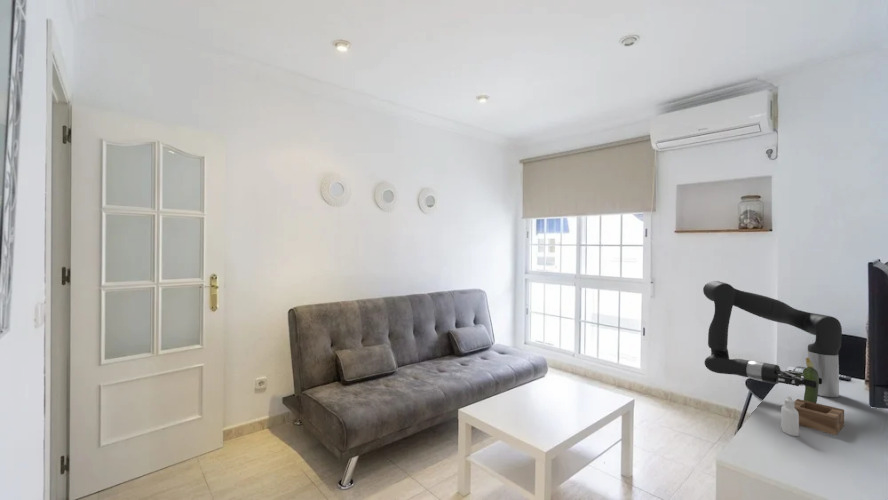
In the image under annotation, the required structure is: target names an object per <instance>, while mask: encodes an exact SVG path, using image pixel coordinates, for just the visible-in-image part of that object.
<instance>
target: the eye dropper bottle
mask: <svg viewBox="0 0 888 500" xmlns="http://www.w3.org/2000/svg"><path fill="white" fill-rule="evenodd" d="M794 401H795V400H793V398H792V396H791V395H788V396H787V398H785V399H784V405H782V406H781V407H780V415H781V416H780V417H781V418H780V422H781V423H780V424H781V427H780V429H781V431H783V432H784V433H785V434H787V435H790V436H792V437H800V425H799V414H798V411H797V410H796V409H795V408H794V407H795V402H794Z"/></svg>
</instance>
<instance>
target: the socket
mask: <svg viewBox="0 0 888 500" xmlns="http://www.w3.org/2000/svg"><path fill="white" fill-rule="evenodd" d="M793 401H794V402H795V407H794V408H795V409H796V410H797V411H798V414H799V426H801V427H805V428H808V429H813V430H816V431H819V432H822V433H823V432H824V433H826V434H827V433H828V434H830V435H834V436H836V435H838V433H839V432H840V431H841V430H842V429H843V428H844V427H845V409H842V408H839V407H834V406H829V405H826V404H822V403H813V402H809V401H804V399H800V398H797V399H795V400H793Z"/></svg>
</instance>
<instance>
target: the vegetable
mask: <svg viewBox="0 0 888 500" xmlns="http://www.w3.org/2000/svg"><path fill="white" fill-rule="evenodd" d="M805 364H806V367H805V368H803V370H802V373H803V376H802V378H804V379H806V380H811V381H816V382H817V387H816V388H814V387H809V386H804V395H803V400H804V401H809V402H813V403H817V401H818V396H819V395H818V386H819V375H818V372H817V371H816V370H815V369H814V368H813V363H812V362H811V360H810V359H809V358H808V357H806V358H805ZM817 404H818V403H817Z"/></svg>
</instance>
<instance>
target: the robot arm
mask: <svg viewBox="0 0 888 500" xmlns="http://www.w3.org/2000/svg"><path fill="white" fill-rule="evenodd" d="M702 293H703V294H704V296H705V298H707V299H708V300H710V301H712V302H714V314H713V317H712V320H711V322H710V325H709V326H708V327H709V328H708V333H707V335H708V337H707V345H708V348H709V349H710V352H711V353H710V355H709V356H707V357H706V358H705V360H704V366H705V367H706V368H707V369H708V371H711V372H713V373H716V374H721V375H722V374H723V375H735V376H740V377H743V378H744V377H745V378H748V379H752V380H755V381H758V382H759V381H760V382H764V383H769V384H773V385H778V384H783V385H784V384H785V385H790V386H794V387H795V386H796V387H801V386H802V387H803V386H804V387H805V386H809V387H814V388H816V387H817V382H816V381H811V380H806V379H804V377H803V371H802V372H801V371H796V370H791V369H788V370H785V371H784V370H781V367H780V366H779V365H778V364H774V363H769V362H762V361H758V360H757V361H756V360H748V359H743V358H732V359H731V358H730V355H729V350H728V341H729V339H728V338H729V326H730V320H731V314H732V309H733V307H736V308H738V309H740V310H743V311H745V312H746V313H749V314H752V315H754V316H757V317H760V318H762V319H765V320H768V321H771V322H776V323H780V324H785V325H790V326H791V327H792V326H793V327H795V328H796V329H799V330H801V331H804V332H806V333H808V334H810V335H813V336H815V341H814V342H813V343H810V344H808V345H807V358H809V359H810V360H811V362H812V363H813V368H814V369H815V370H816V371H817V372H818V375H819V386H818V396H821V397H826V398H839V397H840V375H839V374H840V373H839V372H840V371H839V370H840V368H839V367H840V365H839V364H840V363H839V352H840V349H841V347H842V335H843V331H842V330H843V328H842V324H841V322H840V321H839V319H838V318H836V317H833V316H831V315H827V314H820V313H814V312H809V311H804V310H800V309H797V308H795V307H792V306H790V305H789V304H787V303H785V302H783V301H781V300H779V299H775V298H772V297H769V296H765V295H762V294H757V293H753V292H748V291H744V290H739V289H737V288H735V287H733V286H732V285H731V284H729V283H726V282H723V281H719V280H713V281H709V282H707V283H706V284H704V286H703V292H702Z"/></svg>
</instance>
